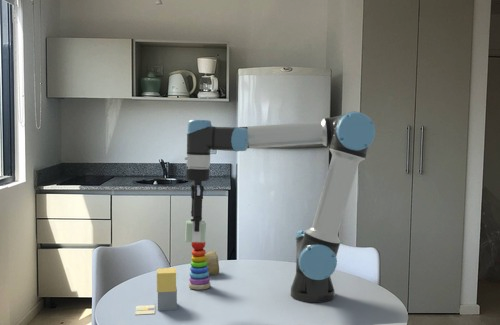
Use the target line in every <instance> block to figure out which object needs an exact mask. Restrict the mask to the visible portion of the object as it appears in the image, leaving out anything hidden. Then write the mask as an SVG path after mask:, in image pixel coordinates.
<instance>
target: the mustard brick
mask: <svg viewBox="0 0 500 325" xmlns="http://www.w3.org/2000/svg"><path fill="white" fill-rule="evenodd" d="M176 289H177V268H176V267H169V268H165V267H164V268H157V270H156V292H157V293H158V292H174V291H176Z"/></svg>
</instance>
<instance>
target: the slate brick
mask: <svg viewBox="0 0 500 325" xmlns="http://www.w3.org/2000/svg"><path fill="white" fill-rule="evenodd" d="M177 290H178V289H177V288H176V291H174V292H157V311H173V310H174V311H175V309H178V296H177V295H178V291H177Z"/></svg>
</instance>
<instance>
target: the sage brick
mask: <svg viewBox="0 0 500 325" xmlns="http://www.w3.org/2000/svg"><path fill="white" fill-rule="evenodd" d="M192 222H193V221H191V219H190V220H189V219H188V220H187V219H186V220H185V228H184V229H185V231H184V232H185V233H184V239H185V242H186V243H192ZM206 225H207V223H206V222H205V220H201V242H205V243H206V229H207V228H206V227H207V226H206Z"/></svg>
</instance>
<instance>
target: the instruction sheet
mask: <svg viewBox="0 0 500 325" xmlns="http://www.w3.org/2000/svg"><path fill="white" fill-rule="evenodd" d="M155 313H156V305H155V304H151V305H147V304H146V305H136V306H135V312H134V315H135V316H137V315H138V316H139V315H140V316H142V315H144V316H145V315H155Z"/></svg>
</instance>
